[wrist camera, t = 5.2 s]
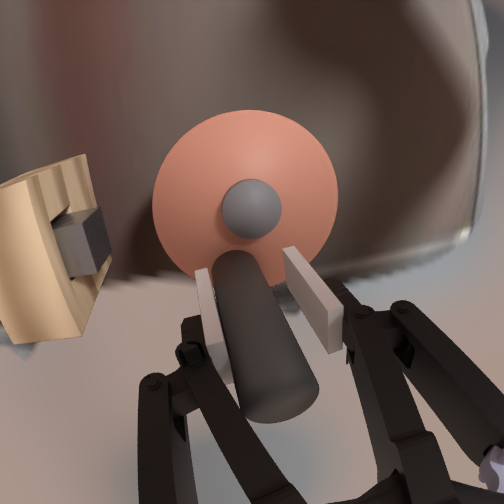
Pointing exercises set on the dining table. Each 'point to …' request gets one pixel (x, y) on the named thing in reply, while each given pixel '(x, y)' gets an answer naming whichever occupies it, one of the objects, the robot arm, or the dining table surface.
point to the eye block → (43, 254)
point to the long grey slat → (82, 241)
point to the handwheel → (249, 240)
